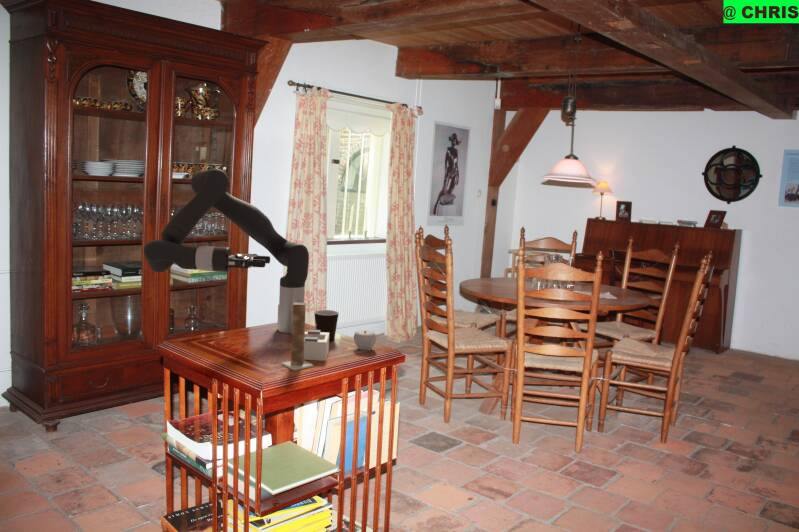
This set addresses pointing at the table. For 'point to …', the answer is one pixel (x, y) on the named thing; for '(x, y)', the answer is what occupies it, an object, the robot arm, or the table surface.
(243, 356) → the table surface
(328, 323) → the coffee mug
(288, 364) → the coaster
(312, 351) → the box
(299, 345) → the walnut stick
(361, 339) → the lidded sugar bowl
